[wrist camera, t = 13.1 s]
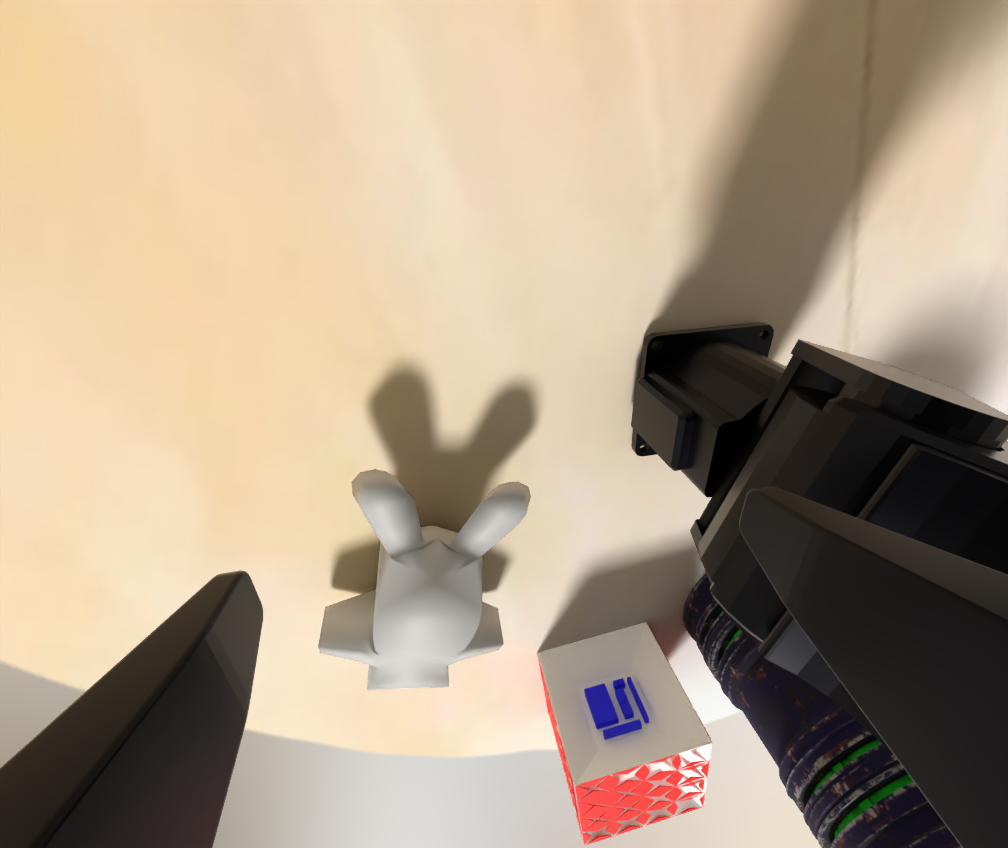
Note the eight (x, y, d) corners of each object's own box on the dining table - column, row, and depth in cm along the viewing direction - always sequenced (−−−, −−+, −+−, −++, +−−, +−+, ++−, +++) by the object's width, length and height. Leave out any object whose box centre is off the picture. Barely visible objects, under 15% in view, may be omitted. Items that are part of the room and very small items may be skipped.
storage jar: (817, 524, 30) (1131, 783, 17) (803, 617, 35) (1039, 873, 22) (677, 571, 29) (890, 875, 16) (683, 658, 34) (851, 946, 21)
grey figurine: (310, 723, 23) (320, 519, 16) (326, 631, 28) (340, 434, 20) (486, 713, 26) (569, 533, 18) (476, 630, 30) (540, 455, 22)
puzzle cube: (548, 714, 35) (583, 845, 28) (536, 651, 31) (573, 786, 24) (646, 685, 35) (704, 806, 28) (646, 620, 31) (714, 742, 25)
